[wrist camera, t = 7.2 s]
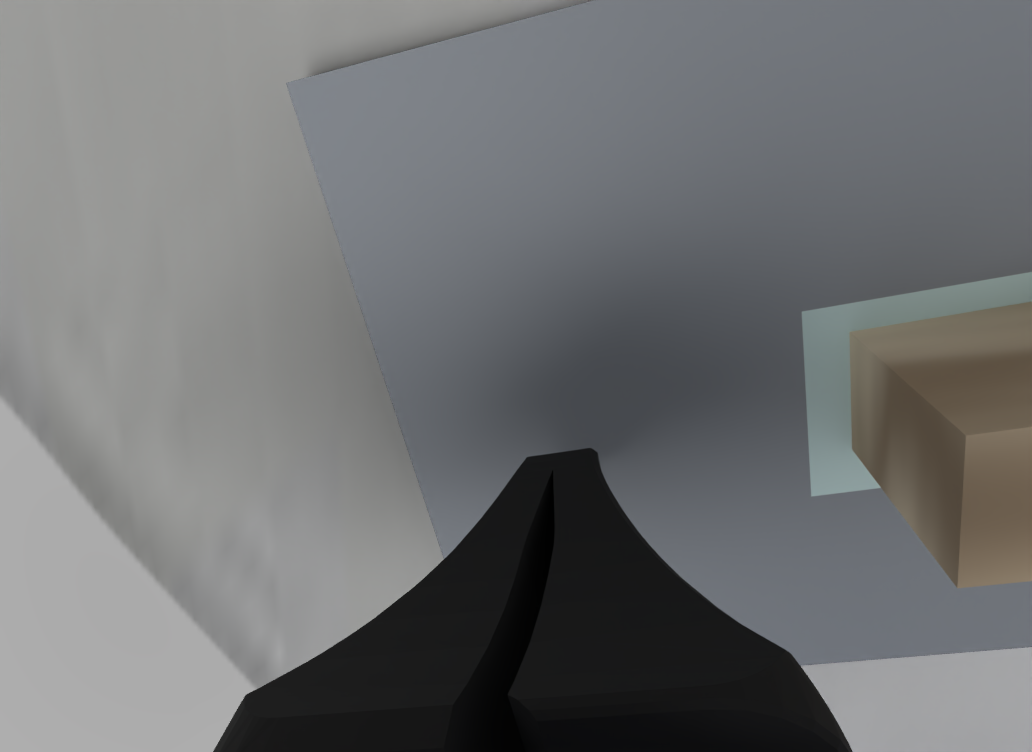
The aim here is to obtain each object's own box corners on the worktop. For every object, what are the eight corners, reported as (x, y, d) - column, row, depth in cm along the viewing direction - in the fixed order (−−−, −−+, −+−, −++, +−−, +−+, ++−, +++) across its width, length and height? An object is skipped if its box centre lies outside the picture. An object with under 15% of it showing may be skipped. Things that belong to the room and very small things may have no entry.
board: (1298, 588, 14) (1347, 621, 13) (492, 659, 18) (487, 690, 17) (1567, -253, 9) (1683, -293, 8) (308, 84, 12) (285, 82, 11)
